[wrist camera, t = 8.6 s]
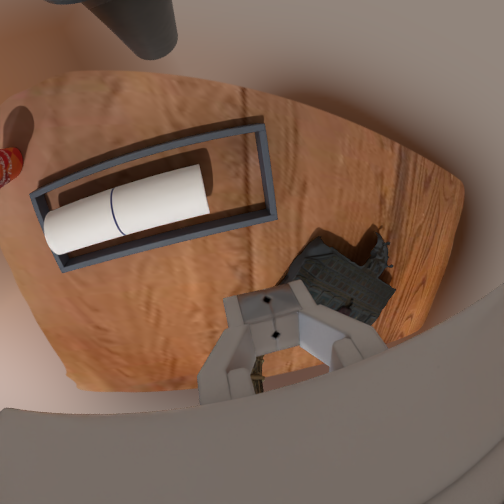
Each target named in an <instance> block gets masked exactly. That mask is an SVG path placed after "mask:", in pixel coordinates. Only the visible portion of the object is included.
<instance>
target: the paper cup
mask: <svg viewBox="0 0 504 504" xmlns="http://www.w3.org/2000/svg"><path fill="white" fill-rule="evenodd" d="M22 167H23V158H22V154H21V152H20V151H19V150H18V149H17V148H15V147H10V148H5V149H0V188H1V187H3V186H4V185H6V184H7V183H9V182H10V181H12V180H13V179H15V178H16V177H17V176H18V175H19V174H20V172H21V170H22Z"/></svg>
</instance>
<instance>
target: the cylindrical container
mask: <svg viewBox="0 0 504 504" xmlns="http://www.w3.org/2000/svg"><path fill="white" fill-rule="evenodd" d="M208 213H210V211H209V206H208V201H207V197H206V192H205V188H204V183H203V179H202V174H201V170H200V166H199V164H197V165H193V166H189V167H185V168H181V169H177V170H173V171H169V172H165V173H162V174H158V175H154V176H151V177H147V178H144V179H141V180H137V181H134V182H131V183H127V184H124V185H121V186H118V187H115V188H112V189H109V190H106V191H103V192H100V193H97V194H94V195H92V196H89V197H86V198H83V199H81V200H78V201H75V202H73V203H70V204H67V205H65V206H62V207H60V208H57V209H55V210H53V211H50V212H48V213H47V215H46V217H45V220H44V234H45V238H46V241H47V243H48V245H49V247H50V249H51V250H52V251H53V252H54V253H56V254H58V255H61V254H64V253H67V252H71V251H74V250H77V249H80V248H83V247H87V246H90V245H93V244H97V243H100V242H103V241H107V240H110V239H113V238H117V237H120V236H124V235H127V234H131V233H135V232H138V231H142V230H146V229H149V228H153V227H157V226H161V225H164V224H168V223H172V222H176V221H180V220H184V219H188V218H192V217H196V216H200V215H204V214H208Z"/></svg>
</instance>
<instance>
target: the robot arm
mask: <svg viewBox="0 0 504 504" xmlns="http://www.w3.org/2000/svg"><path fill="white" fill-rule="evenodd" d="M223 302H224V307H225V312H226V317H227V322H228V327H229V328H228V329H225V330H224V331H223V333H222V335H221V337H220V338H219V340H218V342H217V343H216V345H215V347H214V348H213V350H212V352H211V353H210V355H209V357H208V358H207V360H206V362H205V363H204V365H203V367H202V368H201V370H200V372H199V373H198V375H197V381H198V391H199V401H200V406H194V407H186V408H180V409H171V410H162V411H152V412H140V413H125V414H62V413H47V412H36V411H27V410H20V409H14V408H4V409H3V410H2V411H0V504H504V283H503V284H501V285H500V286H499V287H497V288H496V289H494V290H493V291H491V292H490V293H489V294H487V295H486V296H484V297H483V298H481V299H480V300H478V301H477V302H475V303H474V304H472V305H470V306H469V307H467V308H465V309H464V310H462V311H460V312H459V313H457V314H456V315H454V316H452V317H450V318H449V319H447V320H445V321H443V322H442V323H440V324H438V325H436V326H434V327H432V328H430V329H429V330H427V331H425V332H423V333H421V334H419V335H417V336H415V337H413V338H411V339H409V340H407V341H405V342H403V343H401V344H399V345H396V346H394V347H392V348H390V349H388V347H387V346H386V345H385V343H384V342H383V340H382V339H381V338H380V336H379V335H378V333H377V332H376V331H375V329H374V328H373V327H372V326H370V325H367V324H365V323H363V322H360V321H358V320H356V319H353V318H351V317H349V316H346V315H344V314H342V313H339V312H337V311H335V310H332V309H330V308H328V307H326V306H323V305H321V304H320V305H317V304H316V303H315V301H314V300H313V298H312V296H311V295H310V293H309V291H308V290H307V288H306V287H305V285H304V283H303V282H302V280H296V281H293V282H289V283H287V284H283V285H279V286H275V287H271V288H267V289H263V290H258V291H254V292H249V293H244V294H240V295H237V296H231V297H226V298H223ZM298 345H300V347H302V348H303V349H305V350H306V351H308V352H309V353H311V354H312V355H313V356H315V357H316V358H318V359H319V360H321V361H322V362H324V363H325V364H327V365H328V366H330V368H329V373H327V374H324V375H321V376H318V377H315V378H312V379H309V380H306V381H303V382H299V383H296V384H292V385H289V386H285V387H282V388H278V389H274V390H271V391H267V392H263V393H259V394H255V391H254V387H253V384H252V380H251V377H250V374H251V372H252V369H253V366H254V363H255V361H256V357H258V356H261V355H265V354H268V353H272V352H275V351H279V350H283V349H287V348H291V347H295V346H298Z"/></svg>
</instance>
